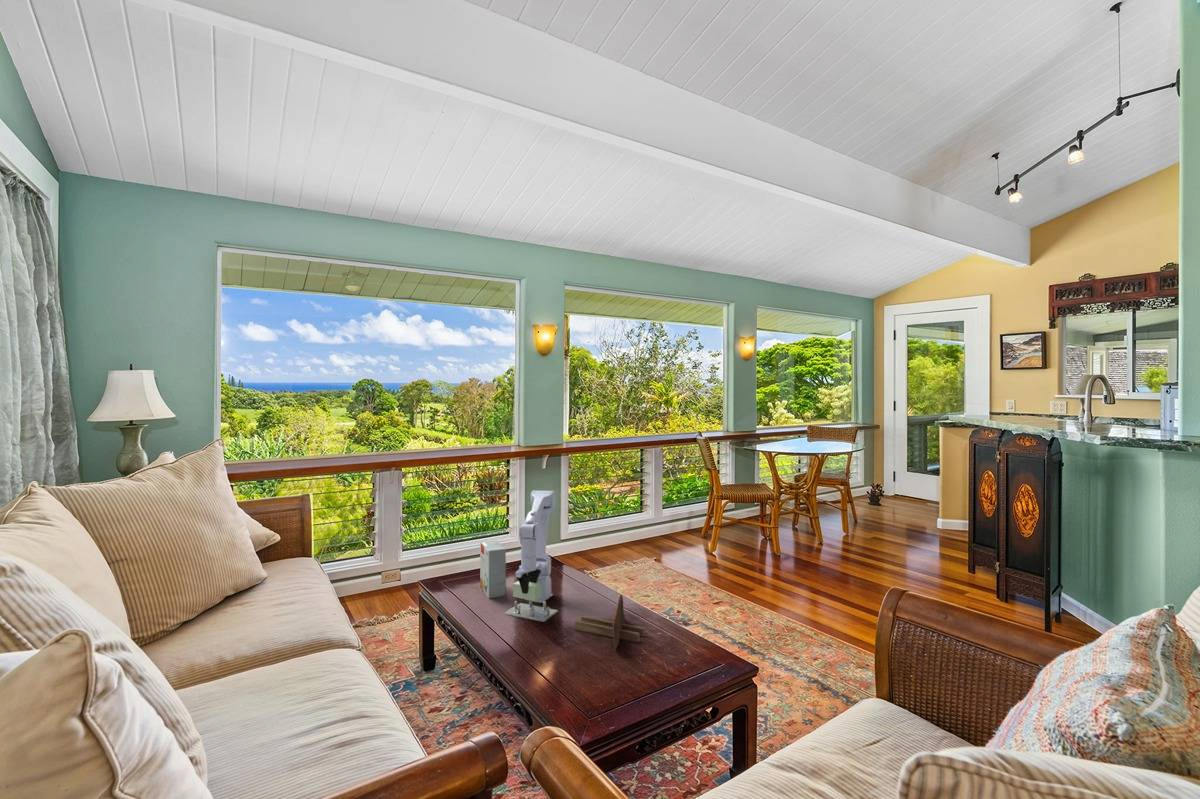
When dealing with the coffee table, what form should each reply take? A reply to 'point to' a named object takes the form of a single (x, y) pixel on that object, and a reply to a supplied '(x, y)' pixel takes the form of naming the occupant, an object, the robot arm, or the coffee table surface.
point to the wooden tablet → (618, 621)
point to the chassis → (531, 611)
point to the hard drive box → (493, 568)
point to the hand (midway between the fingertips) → (528, 591)
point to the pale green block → (528, 591)
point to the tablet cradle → (608, 628)
